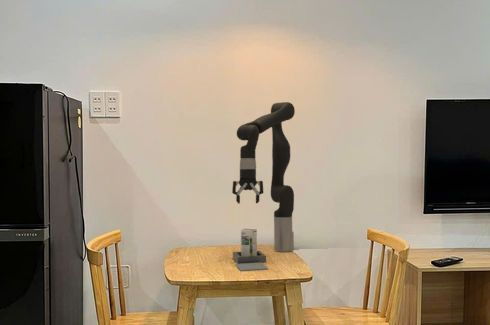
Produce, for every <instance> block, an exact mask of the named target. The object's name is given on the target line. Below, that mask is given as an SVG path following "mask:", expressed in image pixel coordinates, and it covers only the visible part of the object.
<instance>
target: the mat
mask: <svg viewBox="0 0 490 325" xmlns="http://www.w3.org/2000/svg"><path fill="white" fill-rule="evenodd" d="M234 265H235V266H236V268H237V269H238V271H240V272H249V271H251V272H253V271H265V270H269V268H268V266H266V265H265V263H262V262H261V263H244V264H237V263H235V264H234Z"/></svg>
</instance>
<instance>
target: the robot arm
mask: <svg viewBox="0 0 490 325" xmlns="http://www.w3.org/2000/svg"><path fill="white" fill-rule="evenodd" d="M270 108H271V109H270V113H268V114H264V115H261V116H260V117H257V118H255V119H254V120H252V121H250V122H246V123H244V124H241V125H240V126H239V127H238V128H237V129H236V137H237V138H238V139H239V140H241V141H247V143H246V144H245V145H242V146H241V147H240V149H239V150H240V152H239V153H240V154H239V157H240V160H239V180H238V181H237V180H233V181H232V189H231V190H232V191H231V192H232V194H233V195H236V196H235V197H236V198H235V199H236V203H237V204H241V196H240V194H241V193H242V192H243V191H248V190H249V191H253V192H254V193H255V203H256V204H258V203H259V202H260V196H261V195H262V194H264V181H263V180H258V181H257V161H256V149H257V145H258V142H259V137H260V134H262V133H264V132H266V131H267V130H269V129H270V128H271V129H272V130H271V132H272V133H271V135H272V141H271V142H272V148H271V149H272V150H271V153H272V154H271V159H272V162H271V163H272V166H271V167H272V168H271V169H272V170H271V172H272V173H271V183H270V197H271V201H273V202H274V203H278V208H277V209H276V210H274V212H273V226H274V227H273V233H274V234H273V236H274V237H273V238H274V240H273V242H274V244H273V245H274V247H273V248H274V249H273V250H274V251H276V252H278V253H279V252H281V253H283V252H284V253H287V252H293V251H295V248H294V247H295V245H294V244H295V241H294V240H295V237H294V236H295V235H294V231H293V213H294V208H295V207H294V206H295V204H294V203H295V192H294V190H293V187H292V186H291V185H287V184H284V181H285V180H284V179H285V173H286V171H287V168H288V167H289V164H290V161H291V145H290V142H289V141H288V138H287V137H286V135H285V133H284V130H283V124H282V123H283V122H286V121H290V120H291V119H292V118H294V115H295V111H296V110H295V106H294V104H293V103H292V102H289V101H288V102H287V101H285V102H284V101H283V102H275V103H273V104H272V105H271V107H270ZM238 185H239V186H240V187H239V188H238V190H236V189H237V186H238ZM256 185H258V186H259V191H258V189H257V188H256Z"/></svg>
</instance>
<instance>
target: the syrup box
mask: <svg viewBox="0 0 490 325" xmlns="http://www.w3.org/2000/svg"><path fill="white" fill-rule="evenodd" d="M257 234H258V231H257V228H242V229H240V252H241V257H244V256H257V251H258V242H257V241H258V240H257V238H258V235H257Z"/></svg>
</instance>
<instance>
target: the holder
mask: <svg viewBox="0 0 490 325" xmlns="http://www.w3.org/2000/svg"><path fill="white" fill-rule="evenodd" d="M232 259H233V260H234V261H235V264H244V263H261V262H262V263H263V264H265V263H266V264H267V255H266V254H264V253H263V252H262V251H261V250H257V256H244V257H241V251H232Z"/></svg>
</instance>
